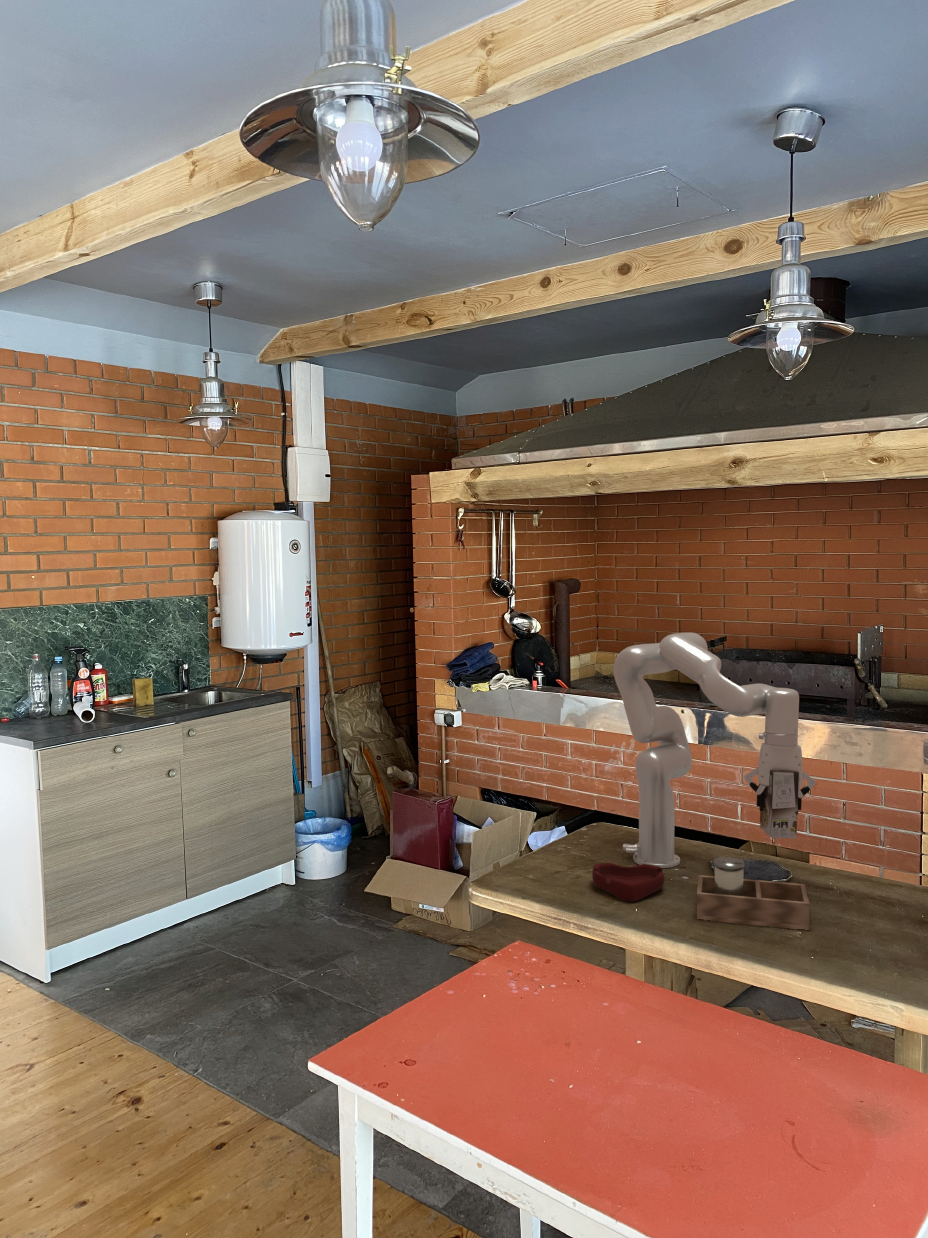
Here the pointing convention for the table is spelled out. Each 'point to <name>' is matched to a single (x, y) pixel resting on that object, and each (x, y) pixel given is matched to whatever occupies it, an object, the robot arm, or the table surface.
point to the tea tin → (729, 876)
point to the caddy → (755, 904)
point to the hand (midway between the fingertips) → (778, 810)
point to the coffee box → (780, 805)
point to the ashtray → (628, 880)
